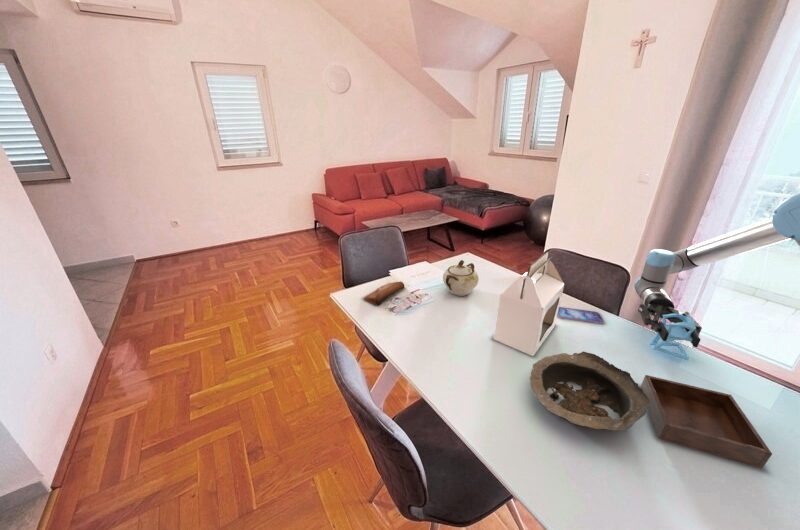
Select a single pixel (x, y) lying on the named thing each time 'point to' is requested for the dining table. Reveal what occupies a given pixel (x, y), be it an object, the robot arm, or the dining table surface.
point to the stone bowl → (588, 390)
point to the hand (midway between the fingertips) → (681, 340)
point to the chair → (675, 335)
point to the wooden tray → (703, 421)
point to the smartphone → (579, 315)
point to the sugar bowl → (460, 278)
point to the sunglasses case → (384, 292)
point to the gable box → (529, 307)
